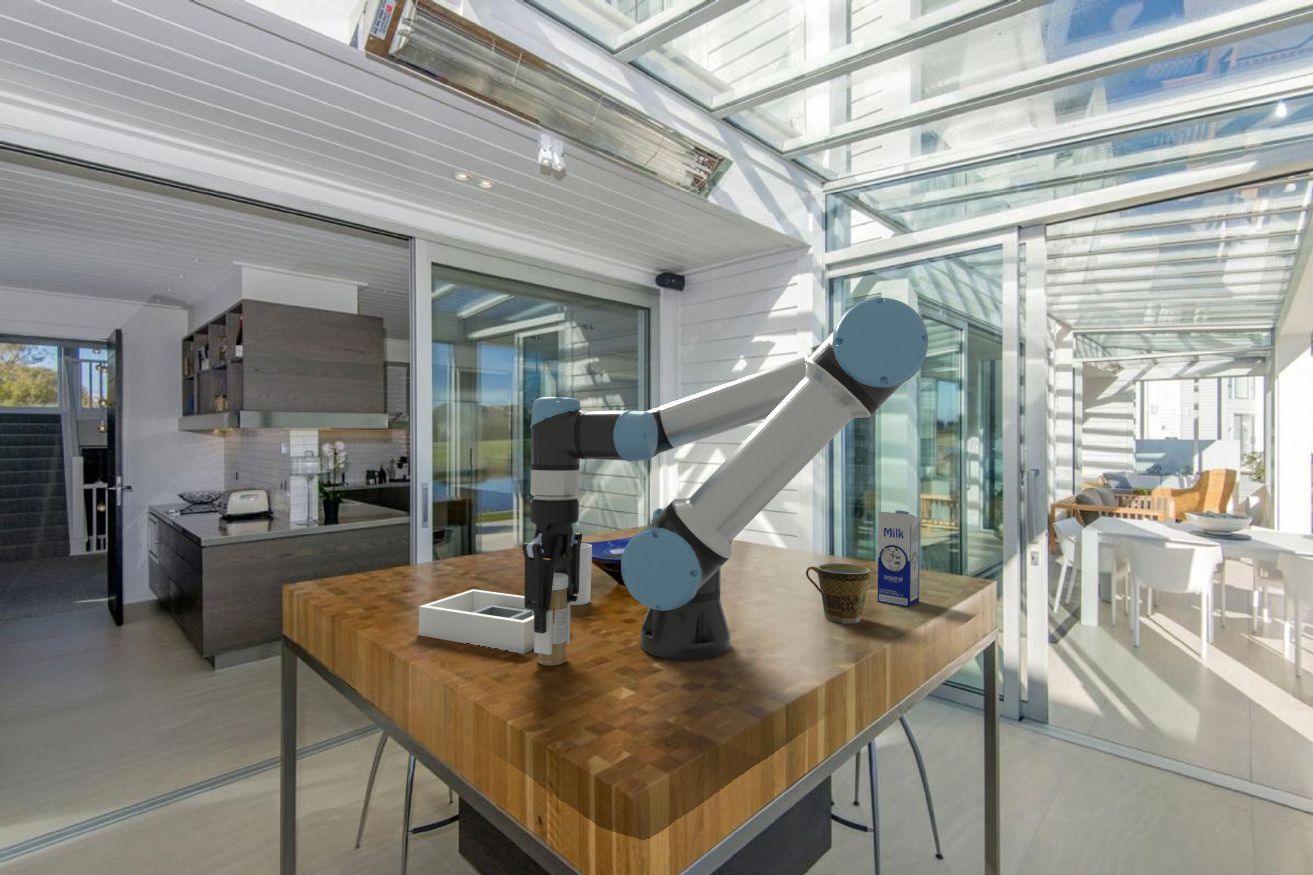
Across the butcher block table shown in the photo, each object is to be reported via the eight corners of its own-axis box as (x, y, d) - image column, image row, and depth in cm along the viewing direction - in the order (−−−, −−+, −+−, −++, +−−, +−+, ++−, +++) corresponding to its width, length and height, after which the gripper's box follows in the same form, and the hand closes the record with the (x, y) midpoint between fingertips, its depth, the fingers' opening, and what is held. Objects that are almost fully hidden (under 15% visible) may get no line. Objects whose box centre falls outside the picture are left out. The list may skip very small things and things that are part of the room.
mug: (590, 605, 128) (591, 548, 128) (558, 606, 128) (558, 548, 128) (592, 593, 138) (592, 540, 138) (561, 594, 138) (562, 540, 138)
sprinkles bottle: (531, 661, 95) (532, 574, 95) (553, 654, 99) (555, 570, 99) (550, 669, 92) (551, 579, 92) (573, 661, 96) (574, 574, 96)
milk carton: (876, 601, 135) (877, 510, 135) (887, 596, 140) (888, 508, 140) (909, 607, 130) (910, 513, 130) (919, 601, 135) (920, 510, 136)
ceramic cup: (877, 618, 122) (878, 568, 122) (856, 629, 114) (857, 575, 114) (817, 606, 130) (817, 559, 130) (793, 616, 123) (794, 565, 123)
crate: (569, 629, 112) (569, 602, 112) (523, 653, 99) (524, 622, 99) (472, 614, 120) (472, 589, 120) (418, 635, 107) (419, 606, 107)
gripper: (563, 492, 105) (561, 629, 105) (499, 500, 89) (497, 662, 89) (602, 494, 102) (600, 635, 102) (543, 503, 86) (540, 670, 86)
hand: (552, 647), depth 95 cm, fingers closed on sprinkles bottle, 4 cm apart
